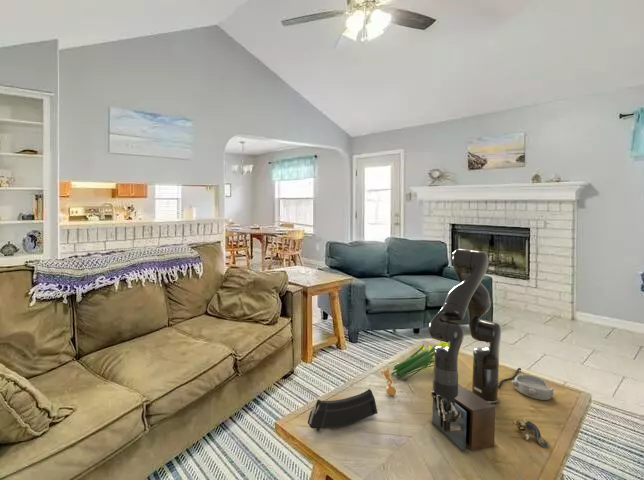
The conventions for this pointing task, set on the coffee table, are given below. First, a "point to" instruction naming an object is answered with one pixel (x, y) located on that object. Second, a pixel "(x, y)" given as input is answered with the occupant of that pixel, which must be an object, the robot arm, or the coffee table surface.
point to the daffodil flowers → (417, 361)
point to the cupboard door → (454, 427)
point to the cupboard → (477, 419)
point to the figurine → (389, 389)
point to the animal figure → (531, 431)
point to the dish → (532, 387)
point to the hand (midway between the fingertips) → (444, 428)
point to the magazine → (342, 411)
